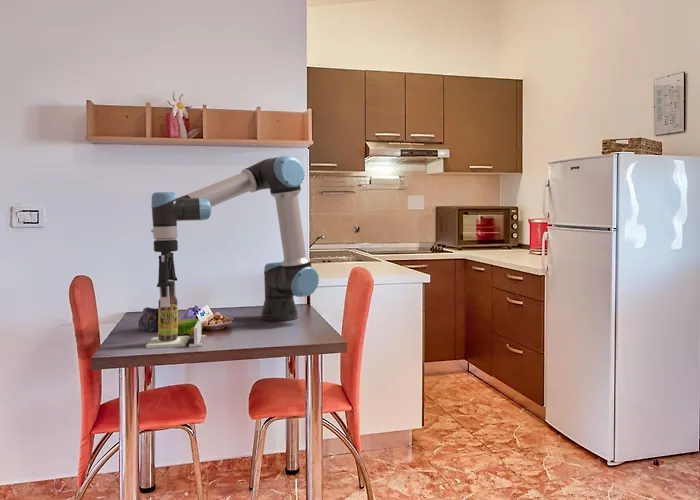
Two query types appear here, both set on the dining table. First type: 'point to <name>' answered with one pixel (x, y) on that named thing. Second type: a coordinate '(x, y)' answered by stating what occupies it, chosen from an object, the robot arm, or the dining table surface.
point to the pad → (168, 342)
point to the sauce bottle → (168, 317)
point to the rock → (149, 319)
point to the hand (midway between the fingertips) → (168, 303)
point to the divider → (197, 335)
